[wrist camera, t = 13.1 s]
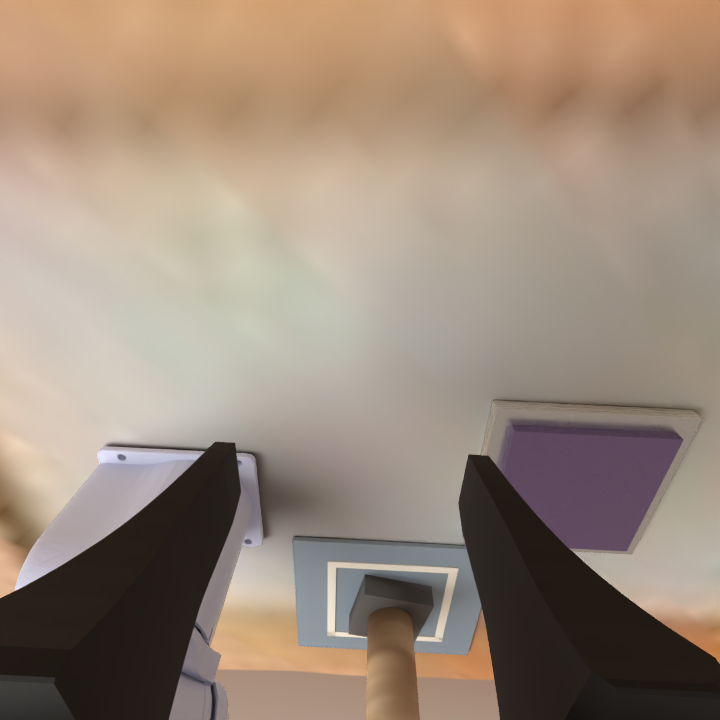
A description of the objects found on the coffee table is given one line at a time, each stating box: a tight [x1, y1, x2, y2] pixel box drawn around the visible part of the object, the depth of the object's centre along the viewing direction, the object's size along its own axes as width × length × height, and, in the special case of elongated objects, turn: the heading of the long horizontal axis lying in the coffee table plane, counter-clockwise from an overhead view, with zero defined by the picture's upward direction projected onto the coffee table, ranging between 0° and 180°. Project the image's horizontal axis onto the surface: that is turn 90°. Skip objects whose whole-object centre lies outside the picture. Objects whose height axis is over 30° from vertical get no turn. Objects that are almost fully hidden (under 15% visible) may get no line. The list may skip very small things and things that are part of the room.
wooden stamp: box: [348, 574, 434, 720], centre depth 29 cm, size 5×5×8 cm
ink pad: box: [463, 400, 703, 554], centre depth 26 cm, size 11×11×1 cm
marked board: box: [293, 537, 482, 655], centre depth 32 cm, size 14×13×1 cm
